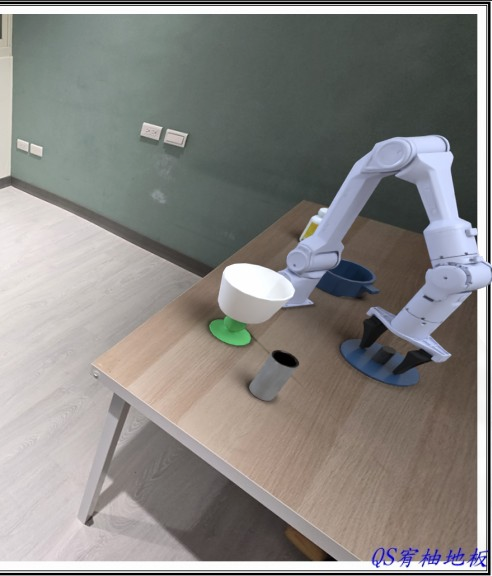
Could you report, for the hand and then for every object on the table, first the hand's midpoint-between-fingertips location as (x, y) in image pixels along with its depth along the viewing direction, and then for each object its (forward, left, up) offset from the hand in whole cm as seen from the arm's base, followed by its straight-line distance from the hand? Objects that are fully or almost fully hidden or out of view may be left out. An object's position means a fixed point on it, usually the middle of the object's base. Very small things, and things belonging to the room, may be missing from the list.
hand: (380, 359), depth 83 cm
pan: (+17, +27, -2) cm, 32 cm away
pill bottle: (+29, +49, -2) cm, 57 cm away
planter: (-31, -3, -2) cm, 31 cm away
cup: (-26, +14, -2) cm, 30 cm away
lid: (0, 0, -1) cm, 1 cm away
